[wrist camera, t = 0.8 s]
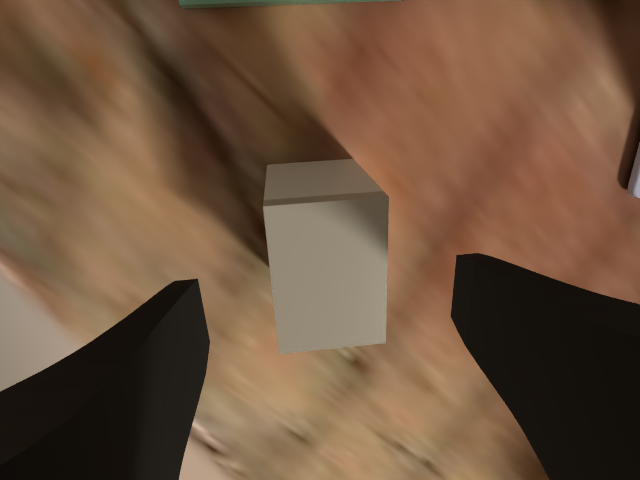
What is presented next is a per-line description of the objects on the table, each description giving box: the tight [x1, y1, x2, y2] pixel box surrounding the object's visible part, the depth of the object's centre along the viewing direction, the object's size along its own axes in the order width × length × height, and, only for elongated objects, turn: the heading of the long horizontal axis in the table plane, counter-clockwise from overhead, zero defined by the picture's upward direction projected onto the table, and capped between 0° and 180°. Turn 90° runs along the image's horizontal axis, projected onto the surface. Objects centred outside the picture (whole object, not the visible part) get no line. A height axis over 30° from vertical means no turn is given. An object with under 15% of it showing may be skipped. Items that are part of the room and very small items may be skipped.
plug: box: [263, 159, 389, 354], centre depth 14 cm, size 4×5×6 cm
